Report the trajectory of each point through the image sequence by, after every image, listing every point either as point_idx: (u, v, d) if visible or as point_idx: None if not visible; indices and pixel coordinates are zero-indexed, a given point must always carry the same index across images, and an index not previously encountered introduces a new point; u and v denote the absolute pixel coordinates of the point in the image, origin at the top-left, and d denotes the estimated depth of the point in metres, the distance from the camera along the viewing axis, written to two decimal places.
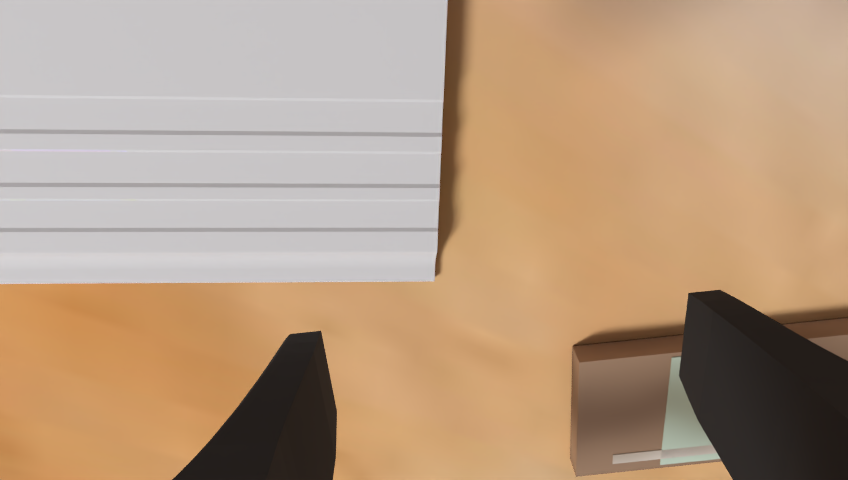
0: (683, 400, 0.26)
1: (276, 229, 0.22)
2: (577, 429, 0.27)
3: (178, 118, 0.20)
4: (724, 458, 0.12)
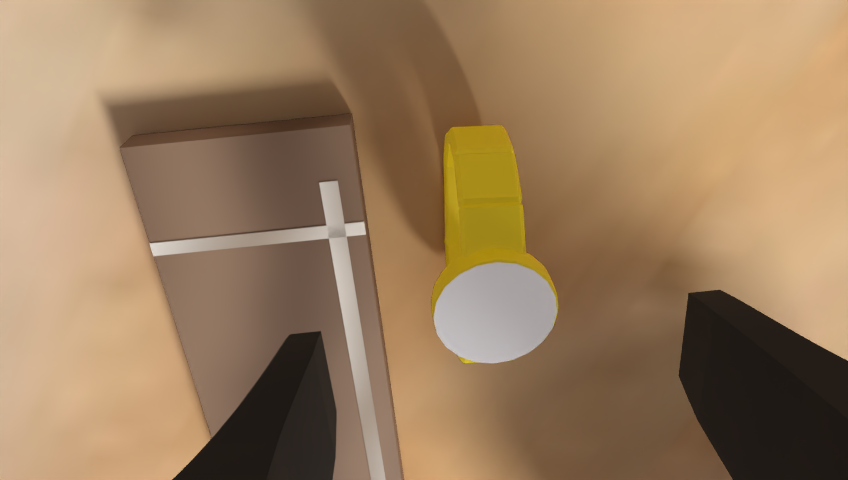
0: None
1: None
2: None
3: None
4: (724, 457, 0.12)
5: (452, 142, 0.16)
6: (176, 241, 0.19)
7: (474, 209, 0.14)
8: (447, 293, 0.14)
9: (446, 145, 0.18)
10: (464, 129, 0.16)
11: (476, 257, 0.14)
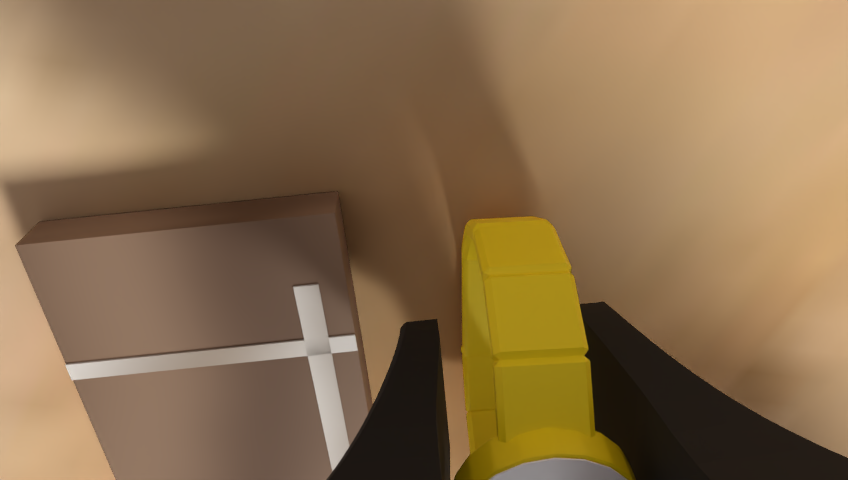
0: None
1: None
2: None
3: None
4: None
5: (480, 252, 0.11)
6: (101, 361, 0.14)
7: (517, 368, 0.10)
8: None
9: (467, 238, 0.13)
10: (496, 229, 0.11)
11: (521, 445, 0.09)
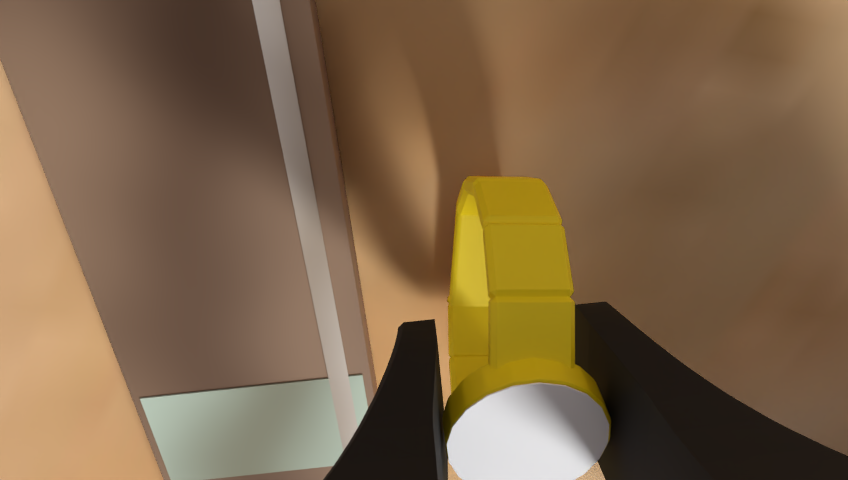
0: (246, 457, 0.18)
1: None
2: None
3: None
4: (604, 470, 0.12)
5: (480, 202, 0.12)
6: None
7: (510, 304, 0.11)
8: (469, 416, 0.11)
9: (464, 193, 0.14)
10: (495, 183, 0.12)
11: (511, 371, 0.10)
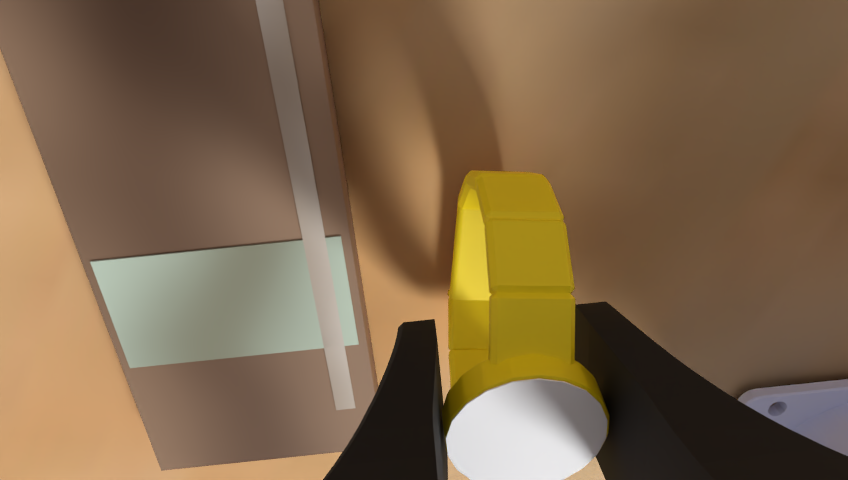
0: (212, 337, 0.16)
1: None
2: (288, 455, 0.18)
3: None
4: (604, 470, 0.12)
5: (482, 198, 0.12)
6: None
7: (511, 300, 0.11)
8: (469, 411, 0.11)
9: (466, 187, 0.14)
10: (497, 179, 0.12)
11: (510, 367, 0.11)
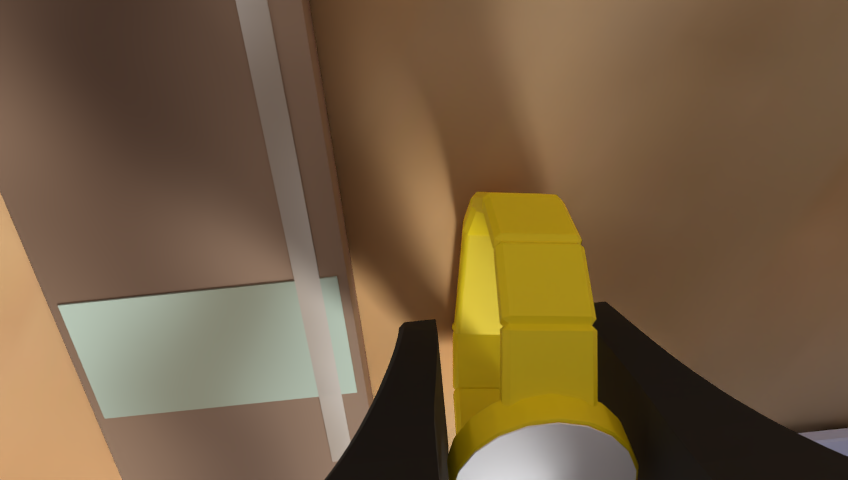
0: (195, 385, 0.14)
1: None
2: None
3: None
4: None
5: (491, 219, 0.11)
6: None
7: (525, 332, 0.10)
8: (478, 460, 0.09)
9: (472, 210, 0.13)
10: (507, 199, 0.11)
11: (525, 409, 0.09)
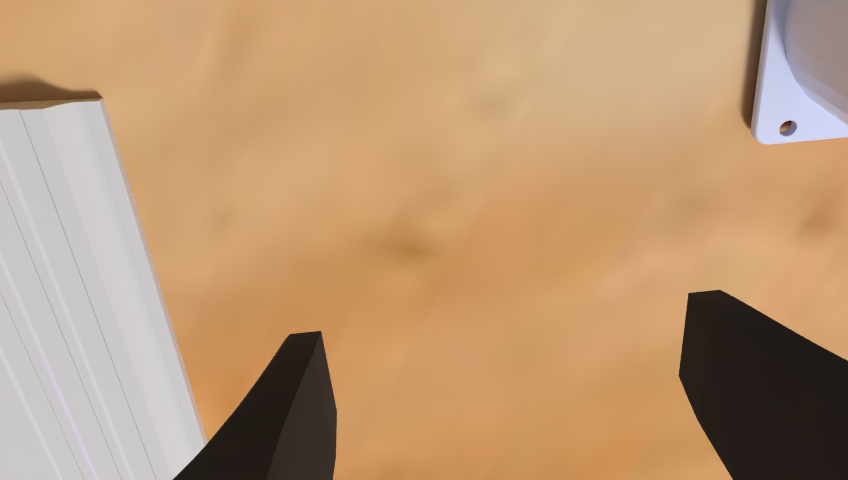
0: None
1: (71, 252, 0.24)
2: None
3: (0, 314, 0.25)
4: (723, 457, 0.12)
5: None
6: None
7: None
8: None
9: None
10: None
11: None
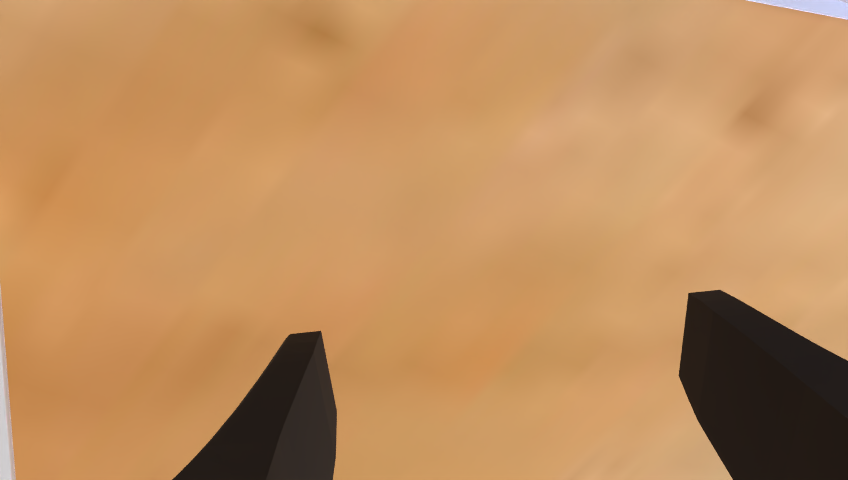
0: None
1: None
2: None
3: None
4: (724, 457, 0.12)
5: None
6: None
7: None
8: None
9: None
10: None
11: None
